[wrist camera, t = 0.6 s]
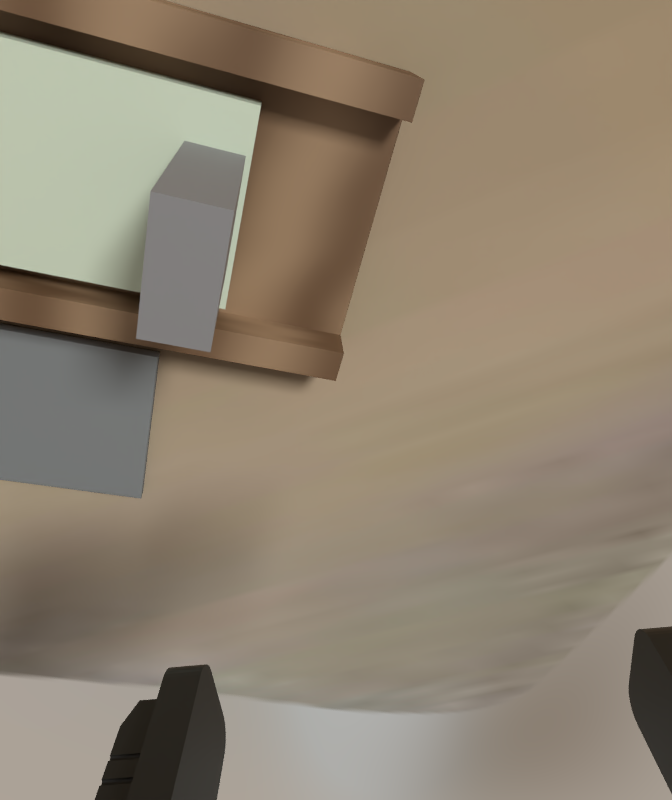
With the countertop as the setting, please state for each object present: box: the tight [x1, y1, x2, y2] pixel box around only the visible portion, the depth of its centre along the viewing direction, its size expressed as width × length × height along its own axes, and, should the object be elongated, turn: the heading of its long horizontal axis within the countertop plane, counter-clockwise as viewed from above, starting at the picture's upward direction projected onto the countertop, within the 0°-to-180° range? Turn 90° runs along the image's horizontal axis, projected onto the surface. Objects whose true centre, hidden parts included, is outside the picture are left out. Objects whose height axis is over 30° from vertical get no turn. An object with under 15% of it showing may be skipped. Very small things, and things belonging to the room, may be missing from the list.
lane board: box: [0, 0, 424, 381], centre depth 26 cm, size 30×14×3 cm, turn 76°
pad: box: [0, 323, 160, 498], centre depth 35 cm, size 10×10×1 cm
